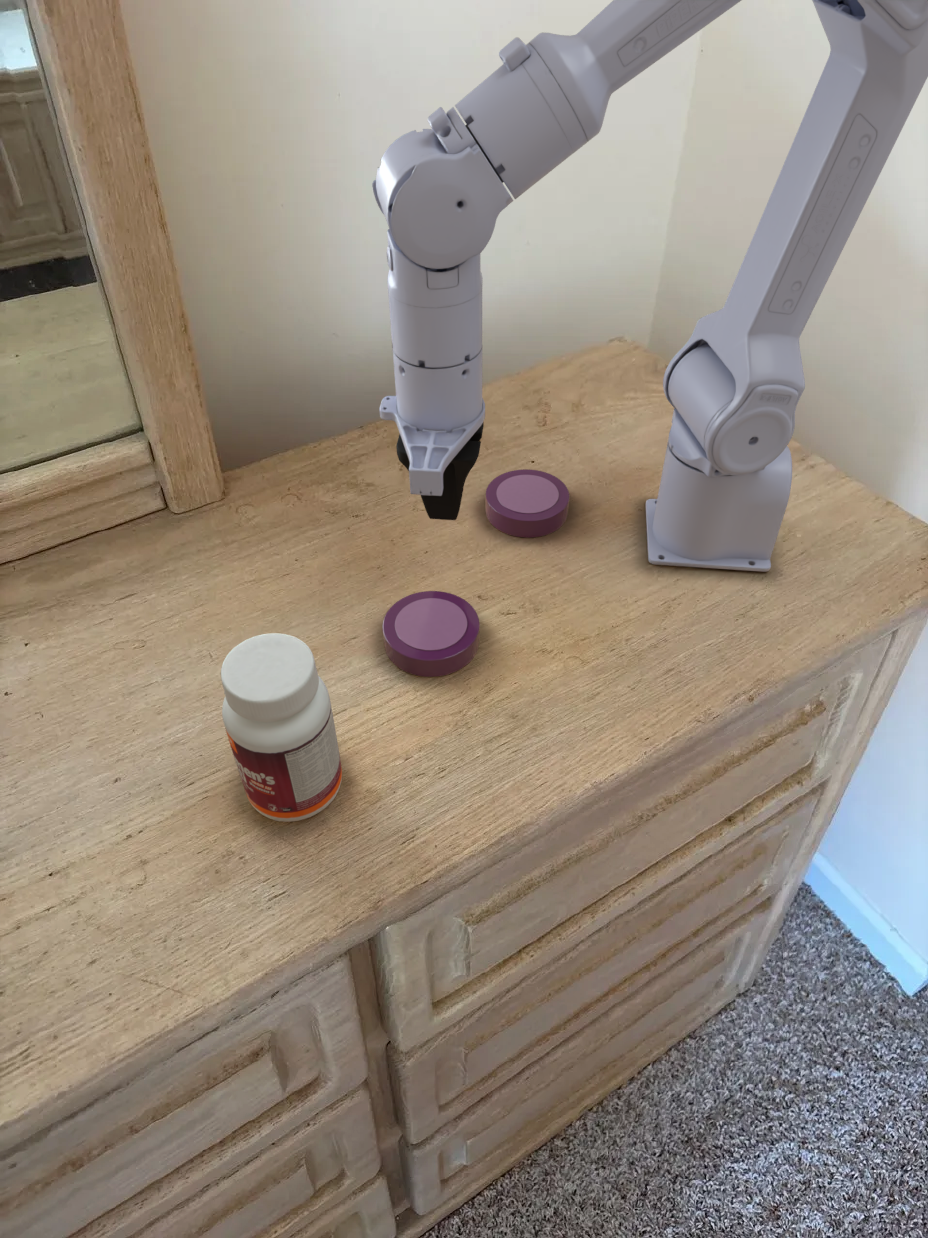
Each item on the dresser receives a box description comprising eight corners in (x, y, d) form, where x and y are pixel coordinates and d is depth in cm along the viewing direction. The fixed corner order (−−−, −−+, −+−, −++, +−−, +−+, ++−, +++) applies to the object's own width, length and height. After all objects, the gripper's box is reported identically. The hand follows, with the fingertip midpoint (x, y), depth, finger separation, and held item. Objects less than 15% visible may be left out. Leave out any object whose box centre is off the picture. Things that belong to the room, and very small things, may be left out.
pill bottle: (226, 788, 57) (185, 671, 49) (298, 729, 60) (271, 609, 52) (292, 844, 54) (260, 729, 46) (364, 778, 58) (346, 660, 50)
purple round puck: (569, 488, 79) (570, 470, 77) (566, 540, 74) (568, 522, 73) (489, 483, 79) (489, 466, 78) (481, 534, 74) (481, 517, 73)
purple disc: (483, 610, 68) (483, 593, 67) (474, 681, 63) (474, 663, 62) (392, 604, 69) (390, 586, 67) (376, 673, 64) (374, 655, 63)
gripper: (393, 290, 63) (405, 453, 72) (353, 405, 52) (373, 576, 62) (495, 294, 62) (493, 458, 72) (473, 411, 52) (474, 583, 62)
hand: (443, 513), depth 67 cm, fingers closed
